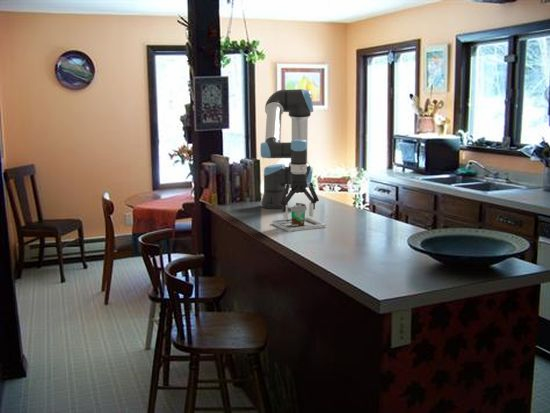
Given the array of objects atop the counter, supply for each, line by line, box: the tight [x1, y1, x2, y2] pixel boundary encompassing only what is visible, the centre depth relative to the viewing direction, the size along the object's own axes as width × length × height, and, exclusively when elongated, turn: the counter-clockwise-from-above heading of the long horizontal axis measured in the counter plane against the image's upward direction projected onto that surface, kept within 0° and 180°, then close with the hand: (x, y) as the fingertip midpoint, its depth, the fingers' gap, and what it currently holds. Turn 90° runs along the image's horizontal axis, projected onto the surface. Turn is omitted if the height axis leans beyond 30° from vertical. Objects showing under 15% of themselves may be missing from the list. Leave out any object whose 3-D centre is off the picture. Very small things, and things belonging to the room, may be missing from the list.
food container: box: [290, 202, 307, 227], centre depth 284 cm, size 12×6×10 cm, turn 167°
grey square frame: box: [271, 216, 327, 232], centre depth 285 cm, size 18×20×2 cm
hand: (298, 217), depth 285 cm, fingers open, 13 cm apart
